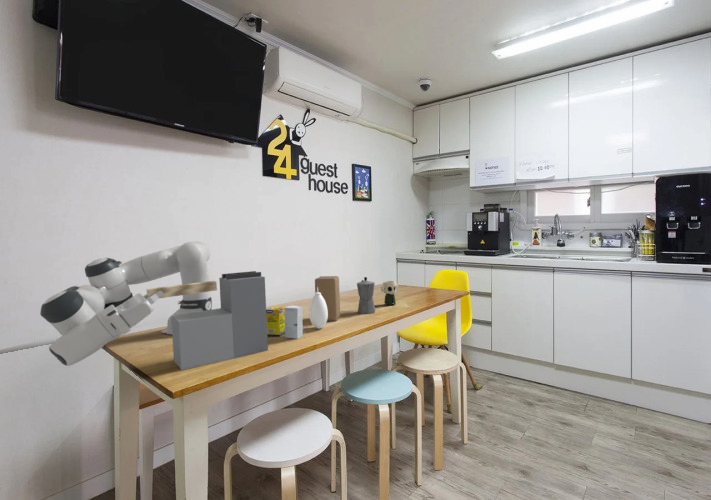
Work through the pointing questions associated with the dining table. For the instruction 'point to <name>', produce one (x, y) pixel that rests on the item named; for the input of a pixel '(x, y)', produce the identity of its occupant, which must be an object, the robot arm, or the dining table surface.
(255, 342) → the stepped stand
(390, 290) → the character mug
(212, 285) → the maple bar
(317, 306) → the sauce bottle
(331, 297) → the wooden block
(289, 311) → the skincare box
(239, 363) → the dining table surface
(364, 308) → the coffeepot
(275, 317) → the supplement box
